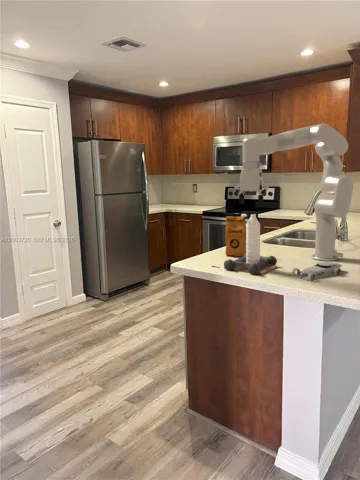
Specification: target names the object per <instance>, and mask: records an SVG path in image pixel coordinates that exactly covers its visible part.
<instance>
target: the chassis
mask: <svg viewBox="0 0 360 480" xmlns="http://www.w3.org/2000/svg"><path fill="white" fill-rule="evenodd" d="M277 264H278V260H277V258H276V257H275V256H274V255H269V256H267V257H260V262H257V263H252V264H250V263H246V253H245V254H243V256H241V257H239V258H237V259H235V260H233V259H230V258H229V259H226V260H225V261H224V262H223V269H225V270H226V271H237V272H243V273H248V274H250V275H253V276H255V275H258V276H259V275H261V276H263V275H265V274H267V273H269V272H271V271H273V270H275V269H277V268H278V266H277Z"/></svg>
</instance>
